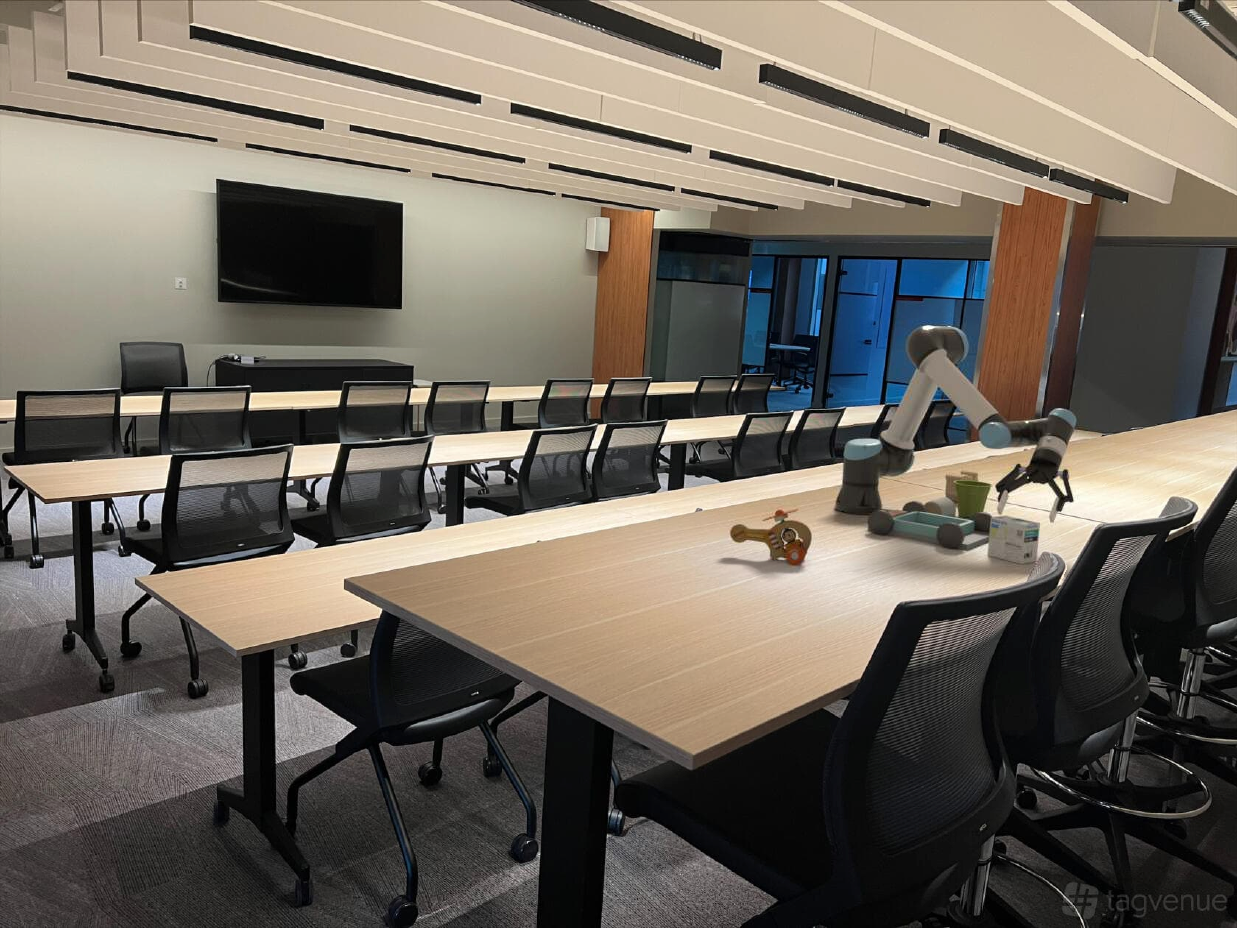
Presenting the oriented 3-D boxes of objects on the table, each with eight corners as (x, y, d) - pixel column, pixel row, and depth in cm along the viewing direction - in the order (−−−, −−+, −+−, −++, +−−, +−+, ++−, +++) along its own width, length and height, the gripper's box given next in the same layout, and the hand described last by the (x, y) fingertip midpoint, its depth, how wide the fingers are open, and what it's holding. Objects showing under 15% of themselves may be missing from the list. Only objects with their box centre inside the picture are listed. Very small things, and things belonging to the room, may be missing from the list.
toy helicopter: (808, 566, 228) (811, 513, 226) (726, 557, 234) (729, 505, 232) (811, 559, 235) (815, 507, 233) (732, 550, 241) (735, 499, 239)
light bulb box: (1037, 562, 241) (1041, 522, 239) (1022, 565, 237) (1026, 524, 236) (1001, 552, 250) (1005, 514, 248) (986, 555, 246) (990, 516, 244)
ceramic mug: (919, 521, 288) (921, 497, 287) (934, 518, 293) (936, 495, 292) (948, 528, 280) (951, 503, 278) (963, 525, 285) (966, 501, 283)
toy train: (978, 499, 331) (980, 471, 329) (958, 504, 319) (961, 476, 317) (963, 496, 335) (965, 469, 333) (943, 502, 323) (945, 474, 321)
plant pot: (996, 518, 296) (1000, 484, 295) (974, 522, 290) (978, 487, 288) (965, 511, 306) (968, 478, 304) (943, 514, 299) (946, 481, 298)
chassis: (863, 531, 270) (865, 508, 269) (901, 520, 288) (903, 498, 287) (963, 551, 250) (965, 526, 249) (997, 537, 268) (999, 514, 267)
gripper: (1000, 442, 261) (975, 500, 252) (1094, 452, 244) (1072, 514, 235) (1005, 459, 265) (981, 516, 256) (1098, 469, 249) (1076, 531, 240)
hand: (1024, 515), depth 246 cm, fingers open, 13 cm apart
